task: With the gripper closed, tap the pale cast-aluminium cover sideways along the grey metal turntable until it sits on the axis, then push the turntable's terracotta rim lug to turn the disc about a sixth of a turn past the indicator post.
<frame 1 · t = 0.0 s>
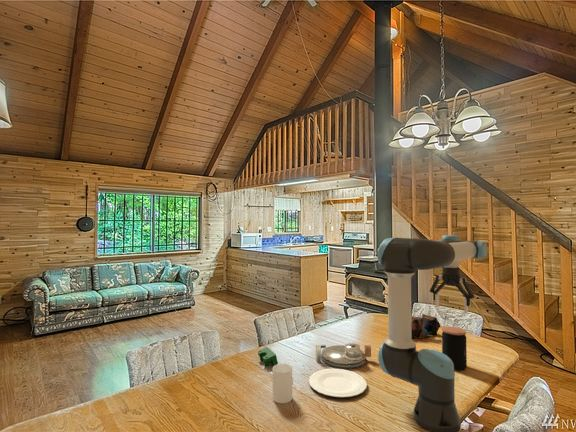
hand: (451, 309, 157), 28 cm above the table, fingers open, 13 cm apart
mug: (280, 396, 131), on the table
coffee jar: (454, 366, 157), on the table
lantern: (417, 336, 201), on the table
clamp: (267, 363, 161), on the table
cover: (352, 356, 161), point 3 cm above the table, touching turntable
plate: (337, 386, 139), on the table
turntable base: (343, 359, 166), on the table
turntable: (346, 350, 166), point 5 cm above the table, hinge at 0.0°, touching cover
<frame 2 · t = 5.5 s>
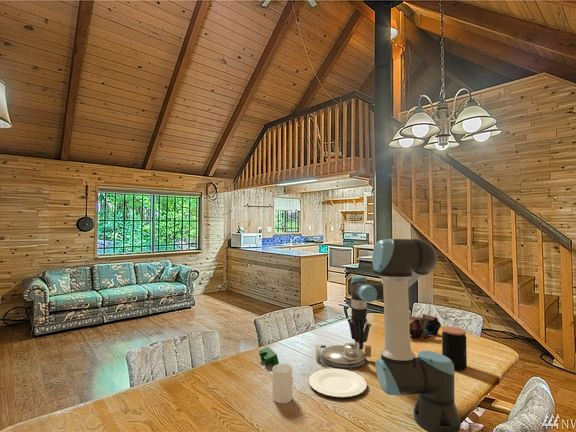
hand: (359, 355, 158), 5 cm above the table, fingers closed
cover: (351, 356, 162), point 3 cm above the table, touching gripper
turntable: (346, 350, 166), point 5 cm above the table, hinge at 0.0°
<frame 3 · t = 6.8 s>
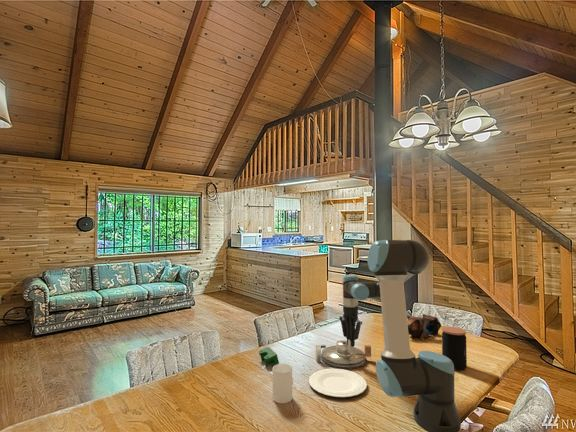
hand: (350, 352, 162), 5 cm above the table, fingers closed
cover: (343, 353, 166), point 3 cm above the table, touching gripper, turntable
turntable: (346, 350, 166), point 5 cm above the table, hinge at 0.3°, touching cover
everything else where it was.
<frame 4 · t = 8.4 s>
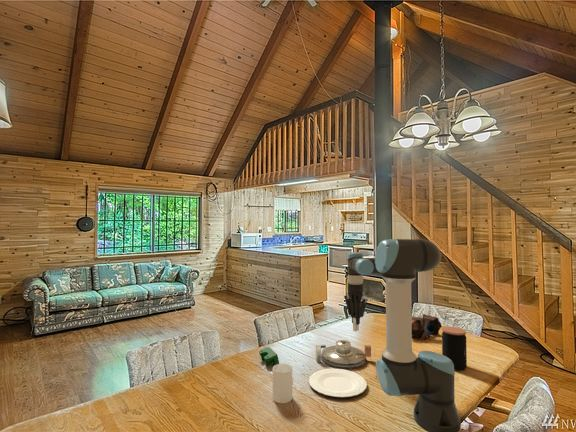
hand: (355, 330, 160), 17 cm above the table, fingers closed
cover: (343, 353, 166), point 3 cm above the table, touching turntable
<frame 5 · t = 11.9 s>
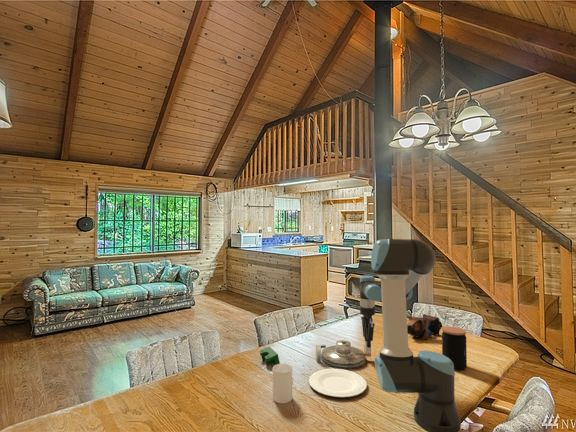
hand: (368, 352, 162), 5 cm above the table, fingers closed
turntable: (346, 350, 166), point 5 cm above the table, hinge at 2.1°, touching cover, gripper
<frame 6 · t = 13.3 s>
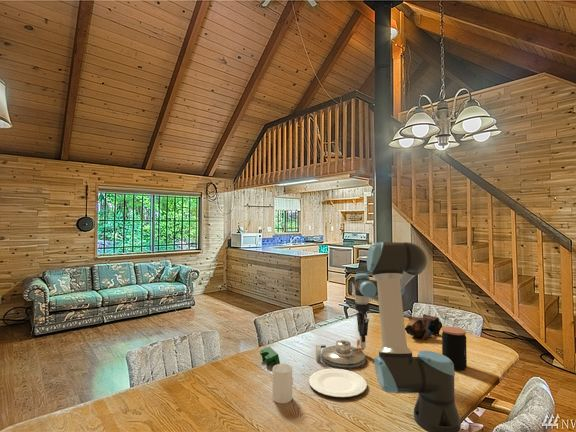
hand: (362, 347, 170), 4 cm above the table, fingers closed
turntable: (345, 349, 167), point 5 cm above the table, hinge at 39.5°, touching cover, gripper
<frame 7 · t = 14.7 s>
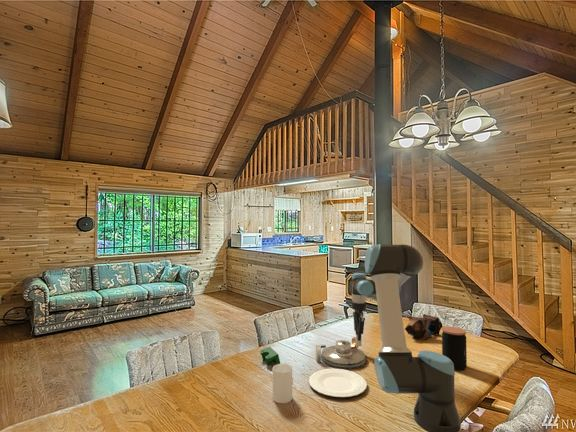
hand: (358, 345, 173), 4 cm above the table, fingers closed
turntable: (344, 349, 167), point 5 cm above the table, hinge at 56.9°, touching cover, gripper
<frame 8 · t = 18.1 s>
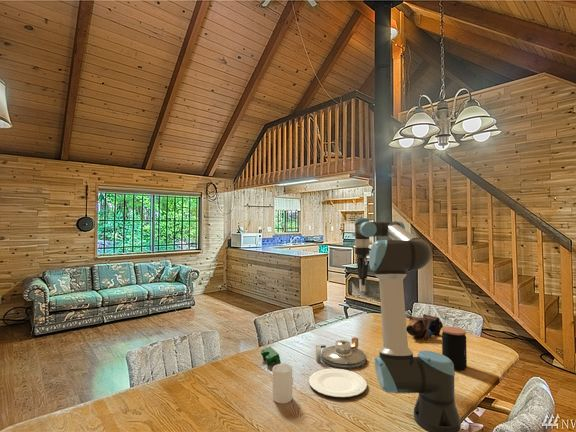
hand: (362, 291, 171), 34 cm above the table, fingers closed
turntable: (344, 349, 167), point 5 cm above the table, hinge at 57.3°, touching cover
at the end: cover 0.2 cm from the turntable (horizontally); cover tilted 0°; turntable at +57° (first picture: +0°) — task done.
